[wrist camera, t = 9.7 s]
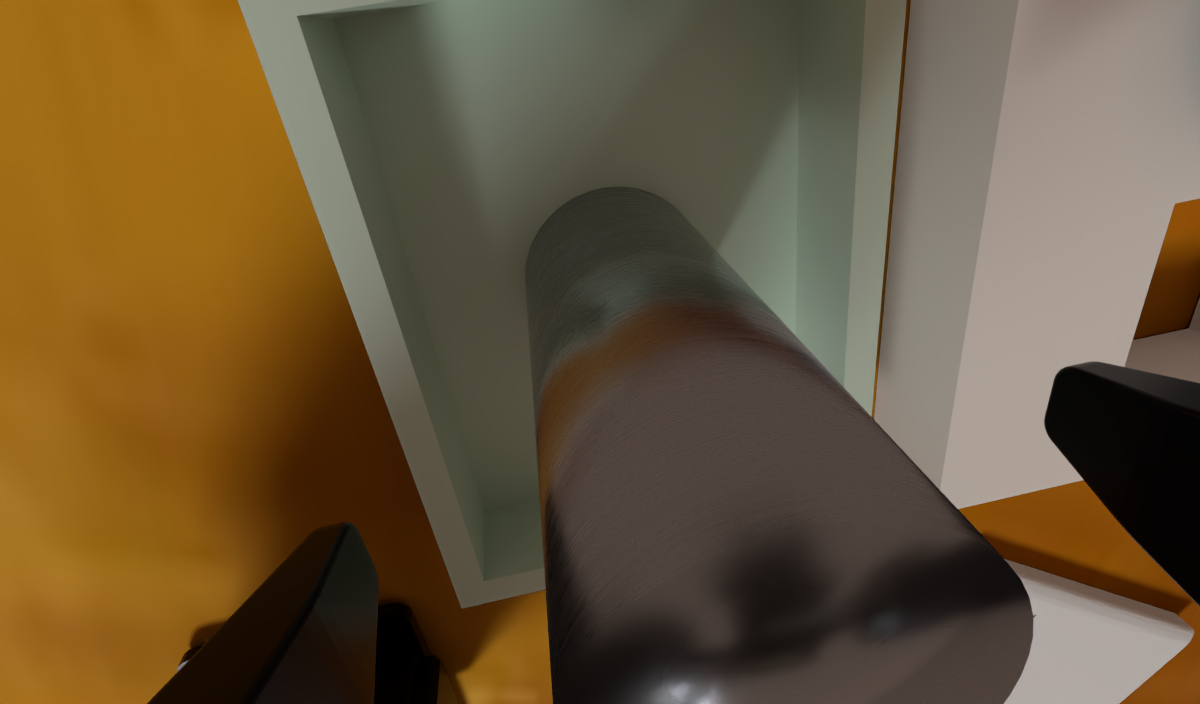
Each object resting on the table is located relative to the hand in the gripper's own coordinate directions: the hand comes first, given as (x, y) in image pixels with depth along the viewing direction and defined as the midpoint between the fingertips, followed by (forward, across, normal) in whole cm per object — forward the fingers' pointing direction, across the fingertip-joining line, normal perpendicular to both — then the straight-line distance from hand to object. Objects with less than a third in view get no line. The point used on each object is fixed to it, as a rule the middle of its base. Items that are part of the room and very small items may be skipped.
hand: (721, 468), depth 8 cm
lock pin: (+7, 0, 0) cm, 7 cm away
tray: (+8, 0, 0) cm, 8 cm away
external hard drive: (+8, -14, +19) cm, 25 cm away
